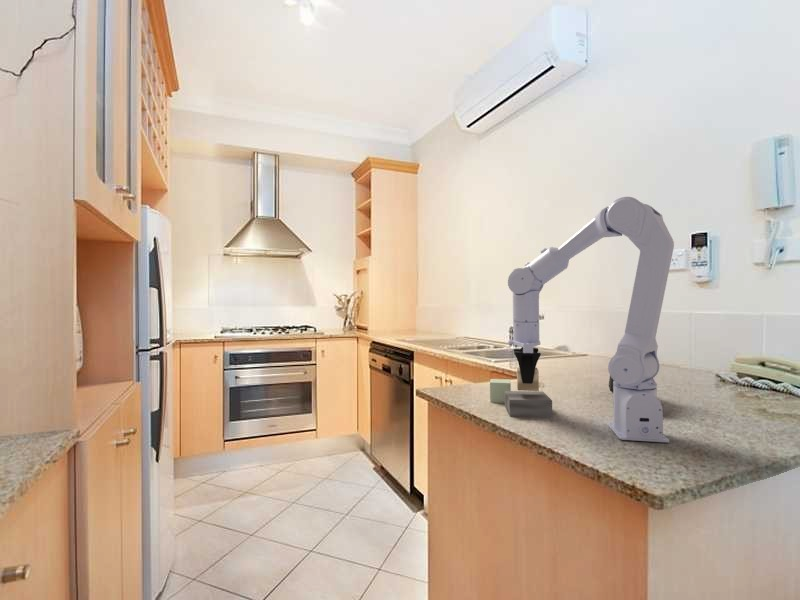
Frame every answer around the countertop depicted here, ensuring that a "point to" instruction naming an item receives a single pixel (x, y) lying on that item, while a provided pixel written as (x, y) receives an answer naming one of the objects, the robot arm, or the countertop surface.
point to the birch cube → (525, 386)
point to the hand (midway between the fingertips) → (526, 381)
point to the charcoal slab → (527, 404)
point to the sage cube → (499, 389)
